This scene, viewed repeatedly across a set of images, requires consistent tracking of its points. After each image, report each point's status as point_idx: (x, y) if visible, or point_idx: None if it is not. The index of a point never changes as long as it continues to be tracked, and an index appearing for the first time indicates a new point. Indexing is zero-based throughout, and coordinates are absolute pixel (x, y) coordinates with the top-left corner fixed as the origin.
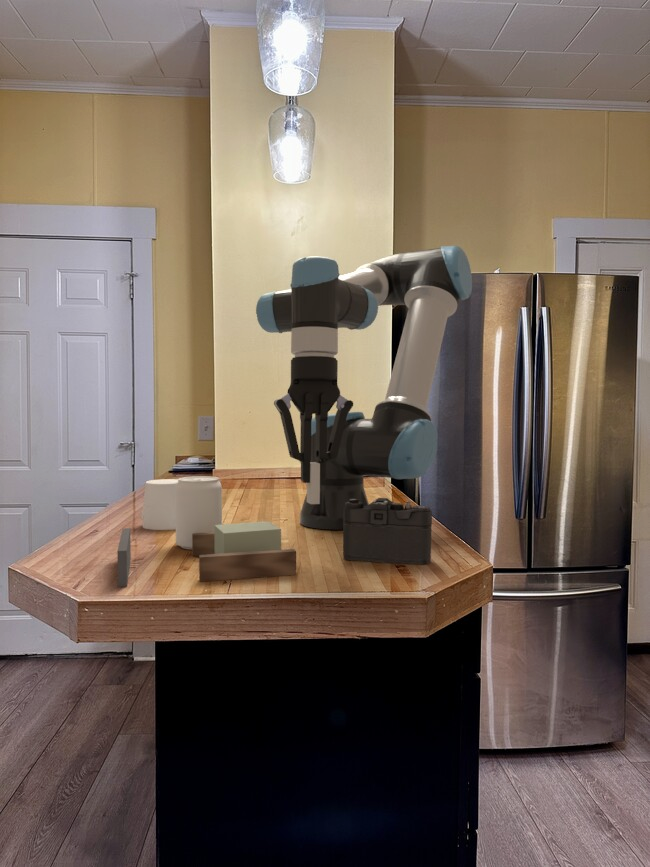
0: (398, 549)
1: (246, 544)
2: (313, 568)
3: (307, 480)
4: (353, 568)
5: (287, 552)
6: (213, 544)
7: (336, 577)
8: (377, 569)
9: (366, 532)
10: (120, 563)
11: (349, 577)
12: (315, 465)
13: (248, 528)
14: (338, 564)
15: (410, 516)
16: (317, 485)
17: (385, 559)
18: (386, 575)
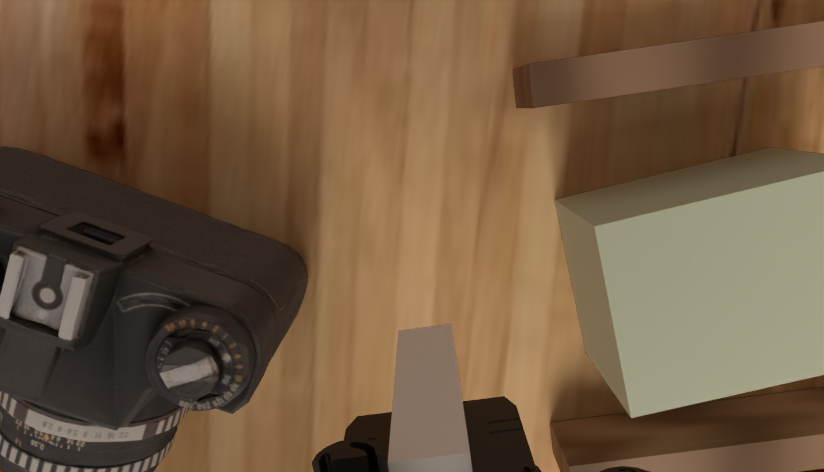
0: (80, 181)
1: (732, 177)
2: (438, 152)
3: (480, 407)
4: (289, 132)
5: (566, 59)
6: (812, 411)
7: (369, 14)
8: (200, 106)
9: (187, 243)
10: None
11: (321, 8)
12: (428, 448)
13: (744, 259)
14: (337, 197)
15: None
16: (410, 374)
17: (150, 197)
18: (179, 17)
